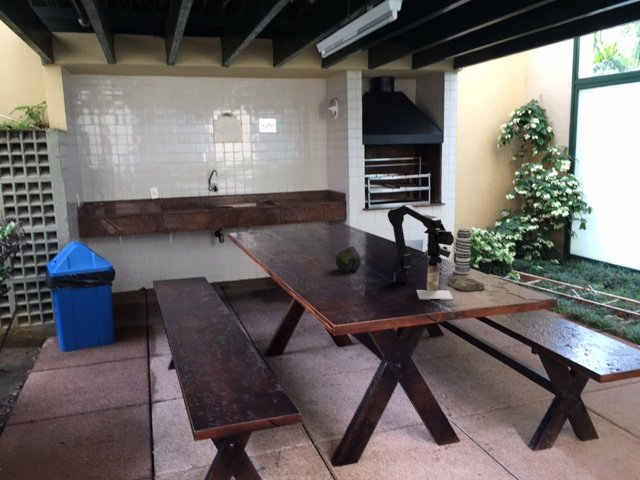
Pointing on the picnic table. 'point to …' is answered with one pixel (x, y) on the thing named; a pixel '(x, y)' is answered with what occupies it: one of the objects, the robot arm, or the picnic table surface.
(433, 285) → the birch block
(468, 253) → the decorative candle
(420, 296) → the white board
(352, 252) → the squash
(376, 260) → the picnic table surface
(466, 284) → the flat brown rock
